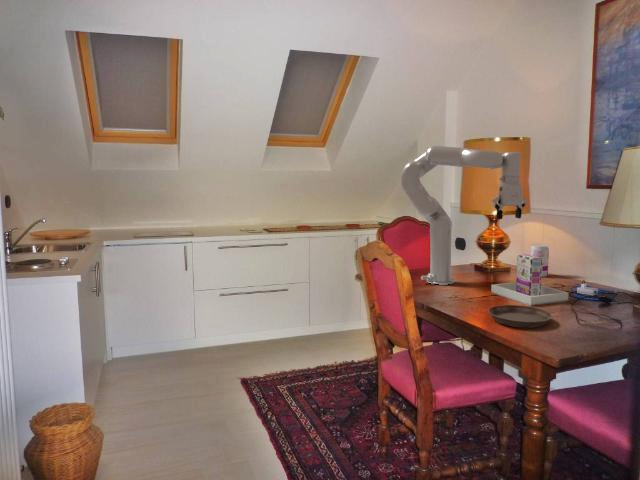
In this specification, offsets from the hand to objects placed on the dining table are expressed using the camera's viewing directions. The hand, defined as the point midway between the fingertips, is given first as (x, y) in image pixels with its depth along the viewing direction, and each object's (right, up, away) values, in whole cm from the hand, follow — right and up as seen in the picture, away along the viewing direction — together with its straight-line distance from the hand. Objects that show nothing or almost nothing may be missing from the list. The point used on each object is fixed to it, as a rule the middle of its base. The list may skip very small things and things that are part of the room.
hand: (508, 218), depth 229 cm
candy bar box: (+1, -33, -18) cm, 37 cm away
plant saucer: (-15, -38, -50) cm, 65 cm away
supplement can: (+23, -28, +23) cm, 43 cm away
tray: (+1, -33, -18) cm, 38 cm away
